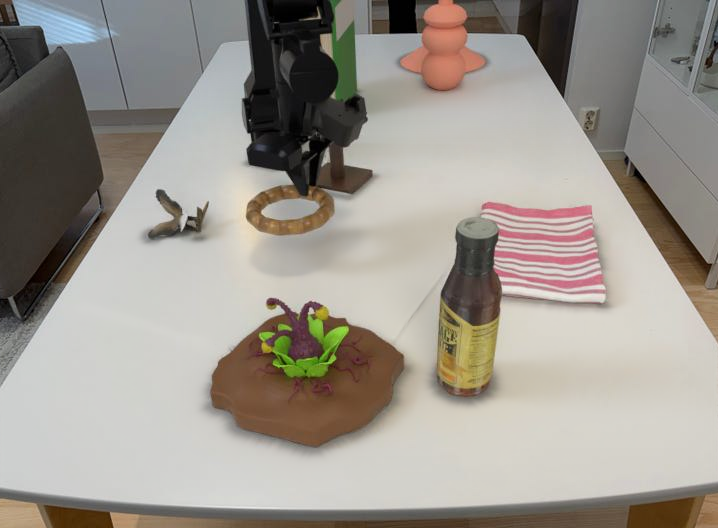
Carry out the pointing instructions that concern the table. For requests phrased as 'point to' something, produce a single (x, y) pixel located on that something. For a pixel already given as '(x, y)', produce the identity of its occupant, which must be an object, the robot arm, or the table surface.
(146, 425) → the table surface
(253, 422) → the plant
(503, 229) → the dish towel
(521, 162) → the table surface
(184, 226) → the eagle figurine
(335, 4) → the hardback book
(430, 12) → the ceramic vessels
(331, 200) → the segmented tan ring
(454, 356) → the sauce bottle
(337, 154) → the peg stand
